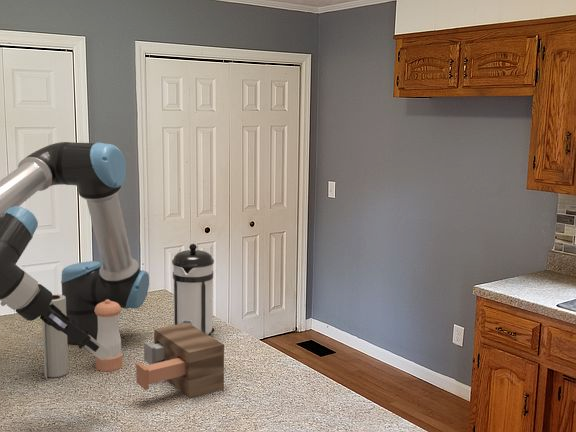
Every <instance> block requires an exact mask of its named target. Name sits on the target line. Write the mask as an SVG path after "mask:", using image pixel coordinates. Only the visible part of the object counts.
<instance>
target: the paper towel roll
mask: <svg viewBox="0 0 576 432" xmlns="http://www.w3.org/2000/svg"><path fill="white" fill-rule="evenodd" d="M52 295H53V298H52V301H51V303H50V305H51V304H53V305H55V306H56V307H57V308H58V309H60V310H61V312H62V313H63V314H65V315H66V297H65V296H64V295H62V294H52ZM41 327H42V347H43V348H42V349H43V350H42V351H43V372H44V377H45V378H46V379H45V380H46V381H48V378H60V377H63V376H66V375H67V374H68V373H69V349H68V343H67V335H66V334H65V333H63V332H62V331H58V330H56V329H55V328H54V327H52V326H51V325H48V324H46V323H45V322H44V321H43V320H42V319H41Z"/></svg>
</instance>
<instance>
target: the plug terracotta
mask: <svg viewBox="0 0 576 432" xmlns="http://www.w3.org/2000/svg"><path fill="white" fill-rule="evenodd" d="M135 365H136V367H135V368H136V369H135V370H136V371H135V372H136V374H135V375H136V376H135V377H136V379H135V380H136V383H137V385H138V386H140V387H141V388H142V390H145V391H147V390H149V389H150V385H152V384H156V383H159V382H163V381H167V380H168V379H172V378H176V377H180V376H183V375H186V361H185V360H184V359H182V358H181V357H180V358H176V359H172V360H168V361H163V362H159V363H155V364H151V365H150V364H148V365H144V364H143V363H141V362H137V363H135Z"/></svg>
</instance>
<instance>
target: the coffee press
mask: <svg viewBox="0 0 576 432" xmlns="http://www.w3.org/2000/svg"><path fill="white" fill-rule="evenodd" d="M188 248H189V250H188V249H187V250H183V251H180V252H177V253H176V255H174V258H173V259H172V261H171V263H172V265H173V266H172V268H173V271H172V279H173V325H177V324H181V322H182V321H183V320H191V321H192V324H191V325H192V326H194V327H196V328H197V329H199V330H201V331H202V332H204V333H206V334H207V335H209V334H210V333H211V334H213V333H214V332H215V328H214V326H213V297H214V296H213V294H214V293H213V289H214V288H213V286H214V285H213V279H214V269H213V268H214V267H213V266H214V263H215V259H214V258H213V257H212V255H211V254H210V253H209V252H207V251H205V250H199V249H197V248H198V247H197V244H195V243H191V244H190V245H189V247H188Z"/></svg>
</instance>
